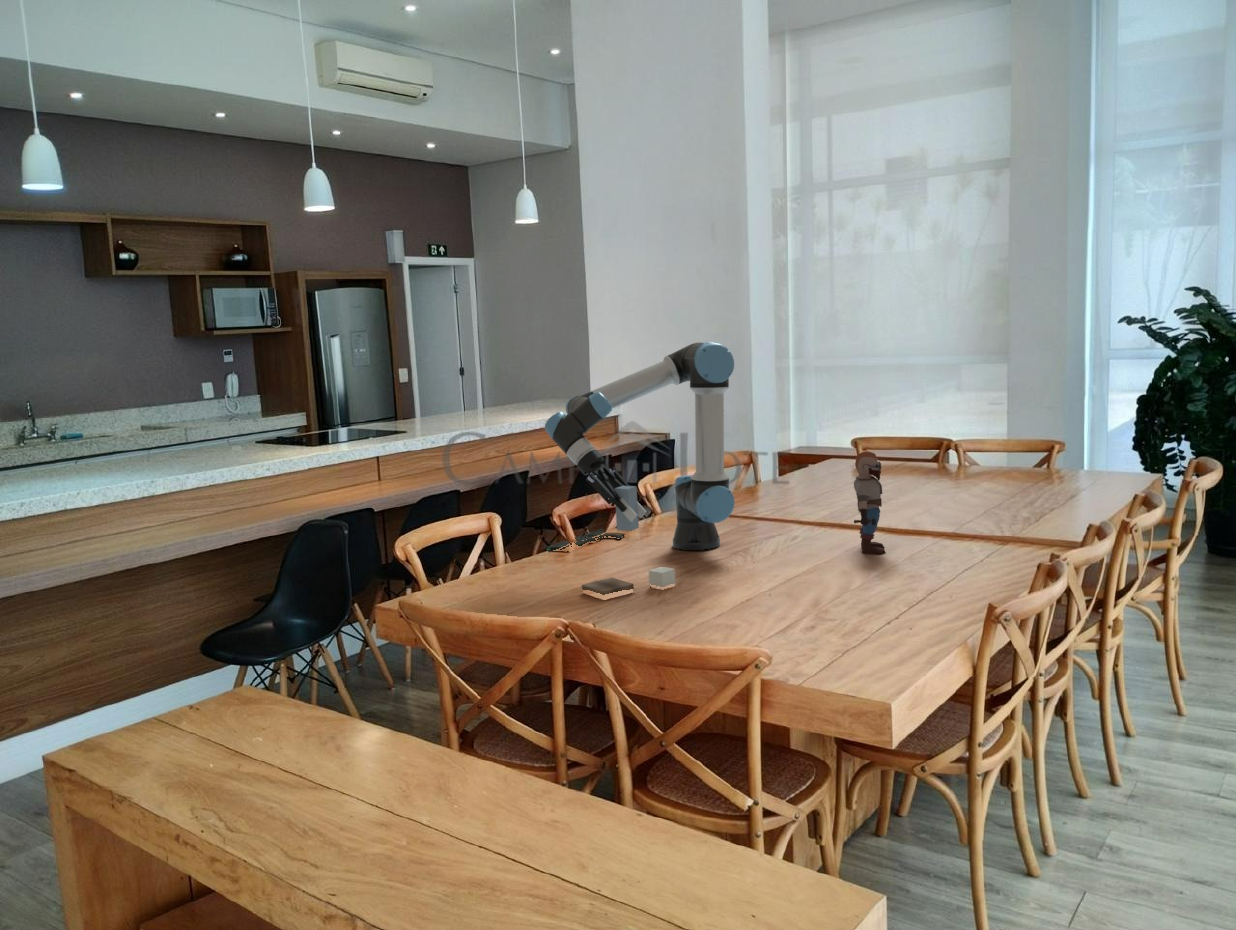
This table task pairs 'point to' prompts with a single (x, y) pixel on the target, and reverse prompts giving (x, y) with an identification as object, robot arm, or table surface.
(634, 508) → the pillar
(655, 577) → the grey-green cube
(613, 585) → the slab
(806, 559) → the table surface
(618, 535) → the firearm
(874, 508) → the toy
